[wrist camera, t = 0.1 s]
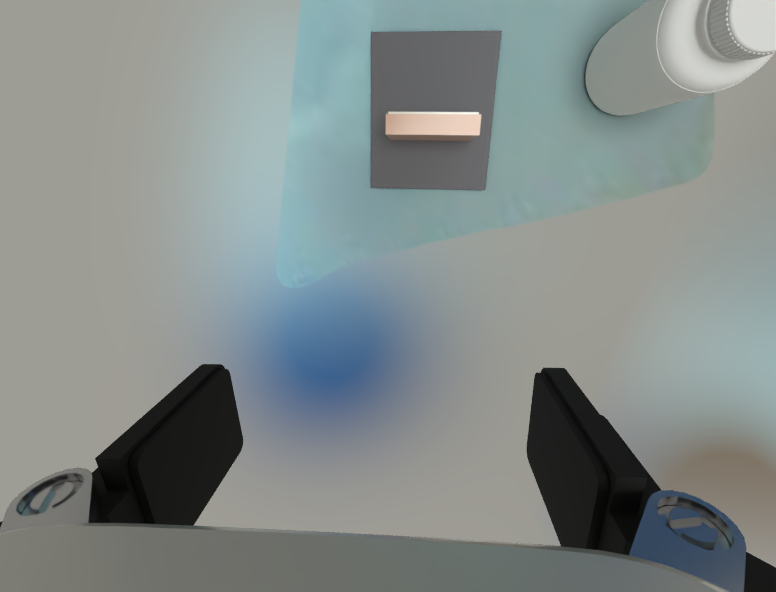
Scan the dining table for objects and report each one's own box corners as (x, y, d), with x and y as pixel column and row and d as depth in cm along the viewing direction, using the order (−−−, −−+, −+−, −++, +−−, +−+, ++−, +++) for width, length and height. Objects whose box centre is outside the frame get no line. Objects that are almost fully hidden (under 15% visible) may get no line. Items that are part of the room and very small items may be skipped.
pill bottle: (684, 89, 34) (877, 29, 19) (597, 132, 35) (716, 107, 21) (662, -2, 31) (860, -141, 17) (571, 49, 33) (683, -40, 19)
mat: (371, 33, 34) (371, 32, 34) (500, 32, 33) (501, 30, 33) (371, 187, 39) (371, 187, 38) (484, 189, 38) (485, 189, 37)
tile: (390, 120, 36) (385, 111, 30) (471, 121, 35) (481, 111, 30) (390, 140, 37) (385, 134, 31) (469, 140, 36) (479, 135, 30)
